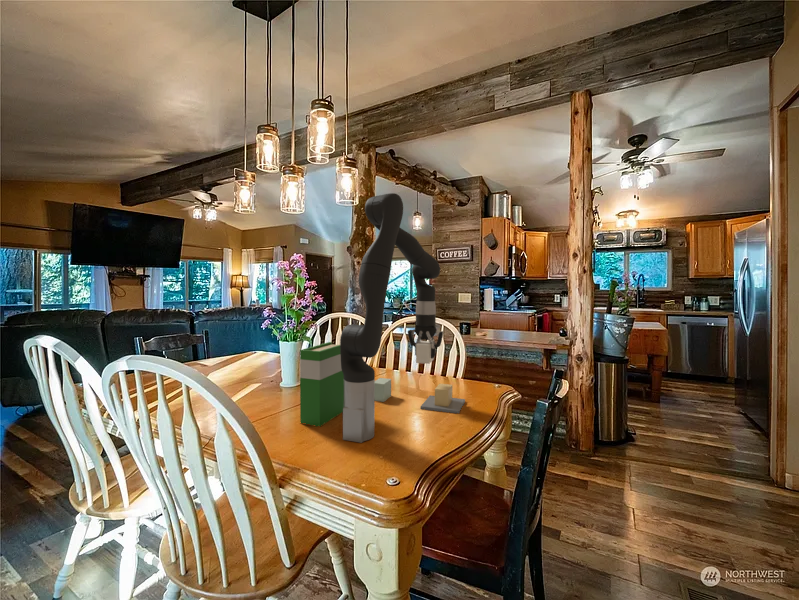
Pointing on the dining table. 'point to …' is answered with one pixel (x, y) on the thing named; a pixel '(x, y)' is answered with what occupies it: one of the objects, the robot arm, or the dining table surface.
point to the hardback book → (321, 384)
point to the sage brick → (382, 389)
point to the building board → (441, 408)
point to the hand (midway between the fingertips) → (425, 357)
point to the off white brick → (423, 352)
